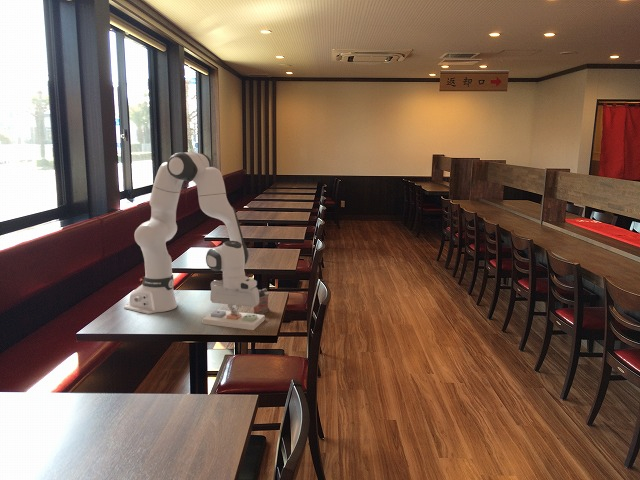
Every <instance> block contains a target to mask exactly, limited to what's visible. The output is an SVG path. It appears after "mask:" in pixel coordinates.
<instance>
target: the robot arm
mask: <svg viewBox="0 0 640 480" xmlns="http://www.w3.org/2000/svg"><path fill="white" fill-rule="evenodd" d="M184 181H185V182H193V183H194V184H195V185H196V188H197V196H198V198H197V199H198V204H199V208H200V210H201V211H202V212H203V213H204V214H205V215H207V216H208V217H210V218H214V219H217V220H219V221H222V223H223V224H224V225H225V226H226V231H227V233H228V237H229V240H227V241H224V242H223V243H222V244H221V245H218V246H216V247H212V248H210V249H208V250H207V252H206V255H205V262H206V265H207V267H208V269H210V270H211V271H214V272H219V271H221V272H222V280H217V279H213V281H211V282H210V289H211V290H210V301H211V303H214V304H223V305H227V307H228V308H229V311H231V315H239V312H240V310H241V308H242V307H252V308H254V307H255V306H257V305H258V304H259V291H258V290H259V289H258V287H257V285H258V281H257V280H256V279H254V278H253V279H252V278H250V277H249V276H246V272H245V265H246V264H247V262H248V260H249V257H250V254H249V249H248V248H247V245H246V242H245V240H244V237H243V234H242V233H243V232H242V229H241V225H240V222H239V218H238V214H237V212H236V209H235V208H234V206H232V205H231V204H230V202H229V200H228V198H227V197H228V196H227V191H226V185H225V181H224V178H223V174H222V172H221V171H220V169H218V168H216V167H215V166H213V161H212V159H211V158H210V157H209V156H208V155H206V154H205V153H202V152H194V151H187V152H183V151H181V152H176V153H174V154H172V155H171V156H169V158H168V160H167V161H165V162H162V163H161V165H160V166H159V168H158V170H157V171H156V175H155V179H154V182H153V185H152V189H151V194H150V199H149V206H150V209H151V210H150V212H151V213H150V219H149V220H147V221H145V222H142V223H141V224H140V225H139V226H138V227H136V229H135V231H134V234H133V235H134V241H135V243H136V244H137V245H138V246H139V247H140V250H141V252H142V256H143V261H144V272H145V276H142V277H141V278H139V282H141V281H142V282H141V285H139V286H138V287H137V288H135V289H134V290H133V291H132V292H131V293H130V294H129V301H128V302H126V303H125V304H124V306H123V308H124V310H129V311H133V312H138V313H143V314H148V315H150V314H155V313H163V312H167V311H172V310H174V309H176V308H177V307H178V303H177V300H176V296H175V291H174V285H175V284H174V283H175V282H174V274H173V263H172V257H171V255H170V254H169V251H168V249H167V244H166V243H167V242H169V241H171V240H172V239H173V238H174V237H175V235H176V233H177V231H178V225H177V222H176V221H177V208H178V203H179V199H180V195H181V191H182V188H183V187H182V185H183V183H184ZM234 306H236V307H235V308H236V309H234Z"/></svg>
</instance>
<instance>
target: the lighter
mask: <svg viewBox="0 0 640 480" xmlns="http://www.w3.org/2000/svg"><path fill="white" fill-rule="evenodd" d="M258 291H259V304H258V305H257V306H255V307H253V313H252V314H259V315H264V314H266V313H268V312H269V310H270V309H269V293H268V289H267V288H266V287H265V288H262V289H258Z"/></svg>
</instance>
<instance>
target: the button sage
mask: <svg viewBox="0 0 640 480" xmlns="http://www.w3.org/2000/svg"><path fill="white" fill-rule="evenodd" d="M253 314H254V313H251V314H246V315H245V316H244V317H243V321H250V322H254V321H255V320H256V319H257V315H253Z"/></svg>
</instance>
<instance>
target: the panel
mask: <svg viewBox="0 0 640 480" xmlns="http://www.w3.org/2000/svg"><path fill="white" fill-rule="evenodd" d="M215 310H219V311H226V315H224V316H223V317H222V318H218V317H211V313H212V312H214V311H215ZM215 310H213V311H212V312H210V313H209V314H207V315H206V316H204V317H203V318H202V322H201V323H202V324H203V325H208V326H209V325H211V326H217V327H218V326H219V327H223V328H224V327H225V328H234V329H240V330H249V331H254V330H255V329H257V327H259V326H260V325H261V324H262V323H263V322H264V321H265V320H266V316H265V314H260V315H259V314H254V313H249V312H240V311H239V313H240V314H241V317H240V318H239V319H237V320H234V319H227V315H229V314H230V313H231V311H230V310H226V309H225V310H224V309H223V310H222V309H215ZM246 314H253V315H257V319H256V320H255V321H254V322H250V321H243V317H244V316H245V315H246Z"/></svg>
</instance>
